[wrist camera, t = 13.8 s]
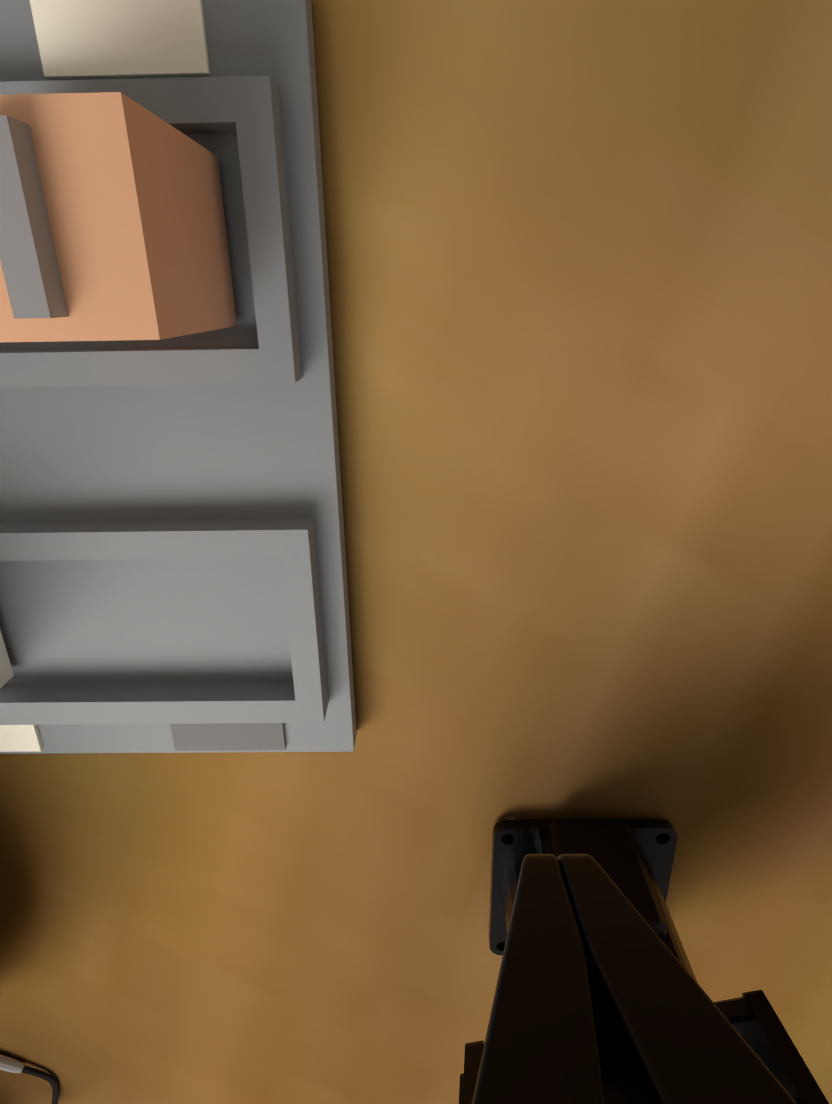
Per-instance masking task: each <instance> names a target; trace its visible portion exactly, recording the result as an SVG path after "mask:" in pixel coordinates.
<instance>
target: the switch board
mask: <svg viewBox="0 0 832 1104" xmlns="http://www.w3.org/2000/svg"><path fill="white" fill-rule="evenodd" d="M101 92H121V93H123V94H124V95H126V96H127V97H129V98H130V99H132V100H133V101H135V102H136V103H138V104H139V105H141V106H142V107H144V108H145V109H147V110H148V111H150V112H151V113H153V114H154V115H156V116H157V117H159V118H161V119H162V120H164V121H165V122H167V123H168V124H170V125H171V126H173V127H174V128H176V129H177V130H179V131H180V132H182V133H183V134H185V135H186V136H188V137H189V138H191V139H192V140H194V141H195V142H197V143H198V144H200V145H201V146H203V147H204V148H206V149H207V150H209V151H210V152H212V153H213V154H215V155H216V156H218V163H219V172H220V181H221V189H222V198H223V207H224V216H225V225H226V233H227V242H228V251H229V260H230V268H231V277H232V286H233V295H234V303H235V312H236V321H237V326H234V327H228V328H223V329H217V330H212V331H206V332H201V333H195V334H189V335H184V336H178V337H173V338H167V339H162V340H119V341H57V342H0V630H1V633H2V637H3V640H4V644H5V647H6V650H7V654H8V657H9V660H10V664H11V667H12V671H13V674H14V676H13V677H12V678H11V679H10V680H9V681H8V682H7V683H6V684H4V685H3V686H2V687H1V688H0V754H38V753H189V752H340V751H354V747H355V740H356V733H357V729H356V713H355V697H354V680H353V664H352V648H351V632H350V616H349V599H348V583H347V567H346V551H345V535H344V518H343V502H342V486H341V470H340V454H339V437H338V421H337V405H336V389H335V373H334V356H333V340H332V324H331V308H330V292H329V275H328V259H327V243H326V227H325V211H324V194H323V178H322V162H321V146H320V130H319V114H318V97H317V81H316V65H315V49H314V33H313V16H312V1H311V0H0V95H10V94H56V93H101Z"/></svg>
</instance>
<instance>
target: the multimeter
mask: <svg viewBox="0 0 832 1104" xmlns="http://www.w3.org/2000/svg"><path fill="white" fill-rule="evenodd" d="M0 1070H3V1071H6V1072H12V1073H21V1072H23V1073H27V1074H30V1075H34V1076H37V1077H40V1078H43V1079H44V1080H46V1081H48V1082H49V1083H50V1084H51V1086H52V1090H53V1097H52V1104H58V1097H59V1085H58V1082H57V1080H56V1078H54V1077H53V1076H52V1075H50V1074H48V1073H46V1072H44V1071H41V1070H38V1069H35V1068H32V1067H28V1066H25V1064H24V1063H22V1062H20V1061H18V1060H16V1059H14V1058H11V1057H7V1056H4V1055H1V1054H0Z"/></svg>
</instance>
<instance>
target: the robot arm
mask: <svg viewBox="0 0 832 1104" xmlns="http://www.w3.org/2000/svg"><path fill="white" fill-rule="evenodd" d="M662 833H664V834H662ZM505 834H511V835H509V836H503V835H505ZM659 834H662V835H659ZM676 842H677V834H676V832H675V830H674V828H673V826H672V824H671V823H670V822H669V821H667V820H662V819H622V820H504V821H501V822H499V823H497V824H496V825H495V826H494V828H493V839H492V865H491V891H490V918H489V944H490V950H491V951H492V952H493V953H495V954H497V955H503V957H502V962H501V967H500V972H499V977H498V981H497V986H496V991H495V996H494V1001H493V1005H492V1010H491V1015H490V1020H489V1025H488V1029H487V1034H486V1039H485V1043H484V1041H483V1040H482V1041H476V1042H471V1043H466V1044H465V1061H464V1074H461V1075H460V1091H459V1104H829V1103H828V1101H827V1100H826V1098H825V1096H824V1094H823V1093H822V1091H821V1089H820V1088H819V1086H818V1084H817V1083H816V1081H815V1079H814V1077H813V1076H812V1074H811V1072H810V1071H809V1069H808V1067H807V1066H806V1064H805V1062H804V1061H803V1059H802V1057H801V1055H800V1054H799V1052H798V1050H797V1049H796V1047H795V1045H794V1044H793V1042H792V1040H791V1038H790V1037H789V1035H788V1033H787V1032H786V1030H785V1028H784V1027H783V1025H782V1023H781V1022H780V1020H779V1018H778V1016H777V1015H776V1013H775V1011H774V1010H773V1008H772V1006H771V1005H770V1003H769V1001H768V999H767V998H766V996H765V994H764V993H763V991H762V990H757V991H751V992H746V993H742V997H740V998H734V999H729V1000H723V1001H718V1002H713V1001H712V1000H711V999H710V998H709V997H708V995H707V994H706V993H705V992H704V991H703V989H702V988H701V987H700V986H699V985H698V983H697V980H696V978H695V975H694V973H693V970H692V968H691V965H690V963H689V960H688V958H687V955H686V953H685V950H684V948H683V945H682V943H681V940H680V938H679V935H678V933H677V930H676V928H675V925H674V923H673V920H672V918H671V915H670V913H669V910H668V908H667V905H666V897H667V892H668V886H669V880H670V875H671V869H672V864H673V858H674V853H675V847H676Z"/></svg>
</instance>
